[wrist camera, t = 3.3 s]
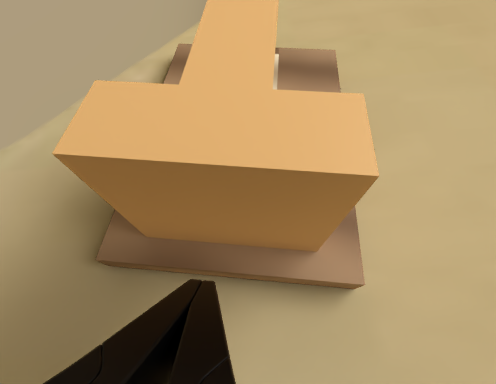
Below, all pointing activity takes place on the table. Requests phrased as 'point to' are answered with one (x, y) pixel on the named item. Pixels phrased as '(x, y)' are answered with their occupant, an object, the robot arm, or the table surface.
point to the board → (239, 256)
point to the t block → (225, 144)
